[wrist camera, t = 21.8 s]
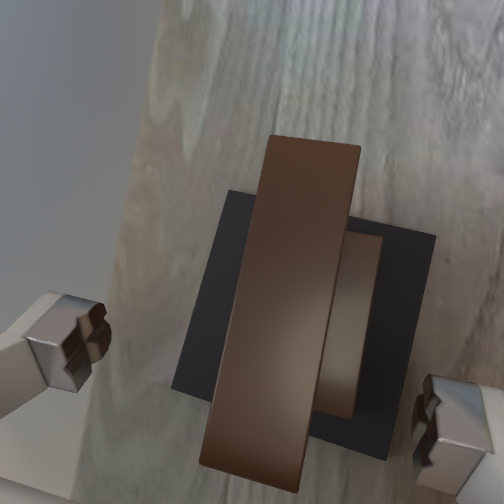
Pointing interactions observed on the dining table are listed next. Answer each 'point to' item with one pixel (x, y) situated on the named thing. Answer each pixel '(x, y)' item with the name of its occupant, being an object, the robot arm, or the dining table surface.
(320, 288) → the brown upright sign stand
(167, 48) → the dining table surface
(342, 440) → the mat
